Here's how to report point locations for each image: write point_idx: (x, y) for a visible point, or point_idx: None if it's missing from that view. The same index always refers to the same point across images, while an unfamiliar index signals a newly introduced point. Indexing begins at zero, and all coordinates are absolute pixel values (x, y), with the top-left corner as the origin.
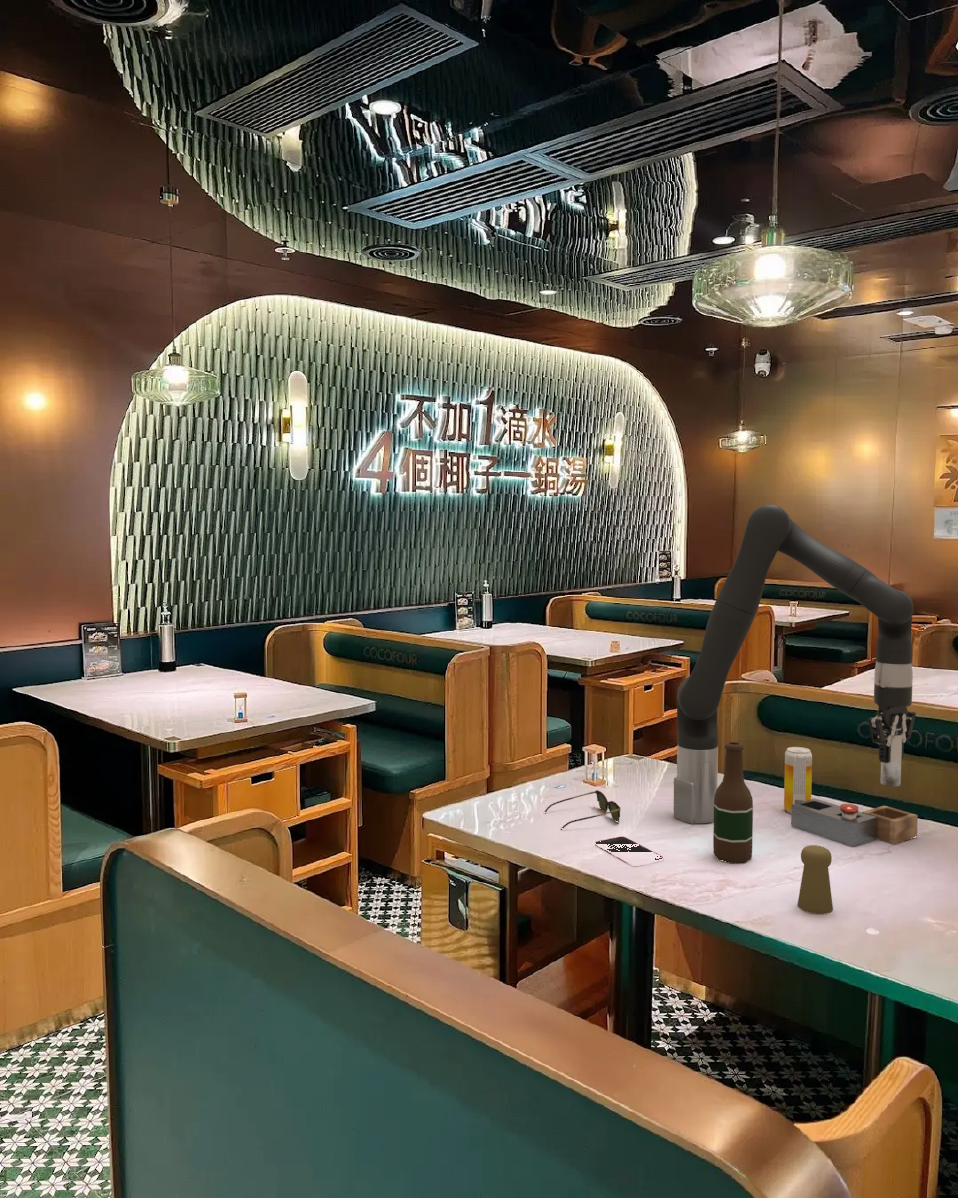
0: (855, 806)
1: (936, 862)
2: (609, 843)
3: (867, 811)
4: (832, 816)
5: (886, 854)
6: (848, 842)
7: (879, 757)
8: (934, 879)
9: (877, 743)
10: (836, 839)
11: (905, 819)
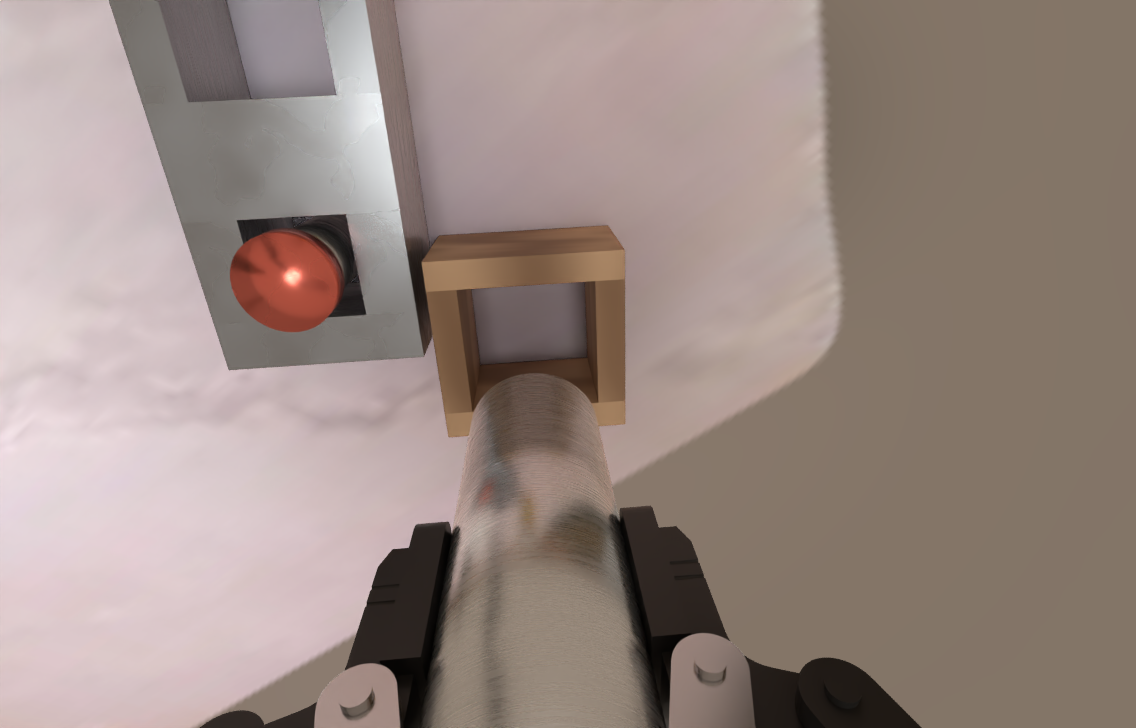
0: (317, 305)
1: None
2: None
3: (453, 273)
4: (199, 233)
5: (348, 434)
6: None
7: (379, 571)
8: (324, 615)
9: (280, 724)
10: None
11: None
